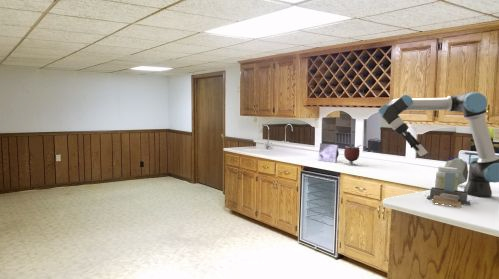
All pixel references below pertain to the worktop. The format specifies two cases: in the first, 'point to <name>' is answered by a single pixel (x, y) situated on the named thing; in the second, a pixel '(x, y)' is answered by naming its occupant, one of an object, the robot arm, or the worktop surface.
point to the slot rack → (439, 191)
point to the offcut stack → (447, 199)
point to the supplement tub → (441, 177)
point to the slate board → (449, 181)
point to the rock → (459, 169)
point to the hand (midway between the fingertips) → (424, 154)
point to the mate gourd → (351, 154)
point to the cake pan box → (328, 153)
